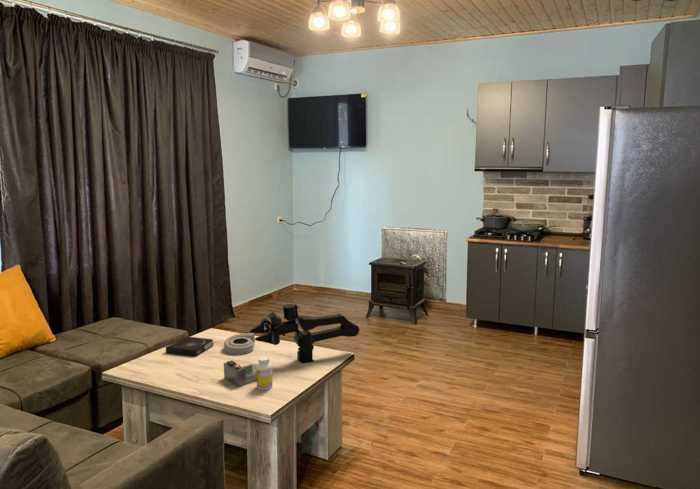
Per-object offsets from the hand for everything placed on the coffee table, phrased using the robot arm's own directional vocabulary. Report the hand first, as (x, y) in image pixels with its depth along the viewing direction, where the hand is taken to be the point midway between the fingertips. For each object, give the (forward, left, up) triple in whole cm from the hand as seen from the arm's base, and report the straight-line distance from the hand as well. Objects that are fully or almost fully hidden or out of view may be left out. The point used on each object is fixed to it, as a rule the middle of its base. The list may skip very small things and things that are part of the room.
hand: (252, 335), depth 246 cm
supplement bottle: (0, +21, -16) cm, 27 cm away
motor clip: (+6, +9, -16) cm, 20 cm away
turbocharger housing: (+1, -29, -17) cm, 33 cm away
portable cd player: (+24, -38, -17) cm, 47 cm away
